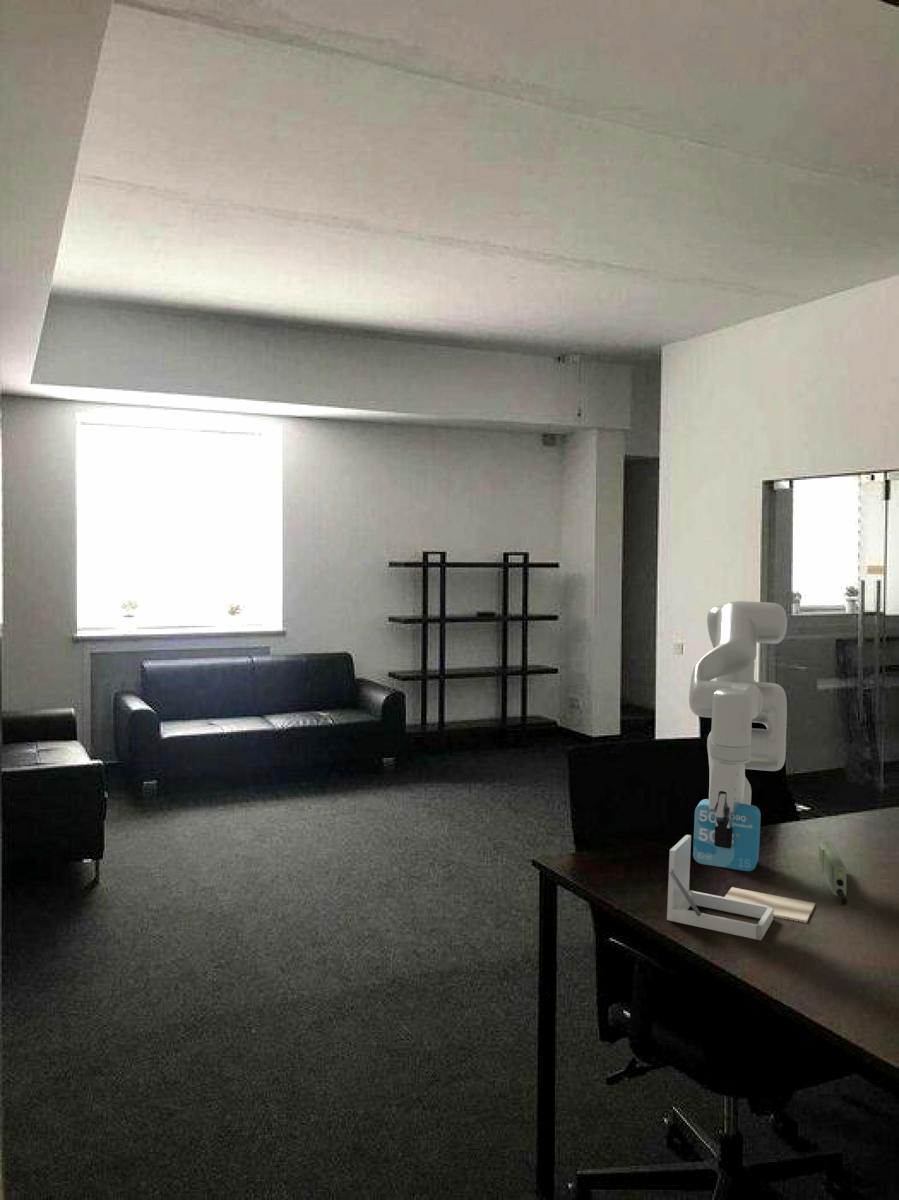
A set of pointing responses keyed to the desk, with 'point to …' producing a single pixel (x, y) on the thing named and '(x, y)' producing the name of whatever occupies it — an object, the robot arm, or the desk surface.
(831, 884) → the handheld radio
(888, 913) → the desk surface
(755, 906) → the stand
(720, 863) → the data package
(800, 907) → the birch board
